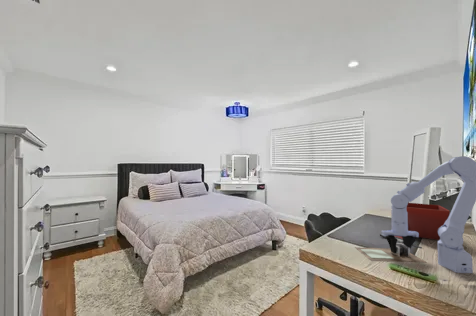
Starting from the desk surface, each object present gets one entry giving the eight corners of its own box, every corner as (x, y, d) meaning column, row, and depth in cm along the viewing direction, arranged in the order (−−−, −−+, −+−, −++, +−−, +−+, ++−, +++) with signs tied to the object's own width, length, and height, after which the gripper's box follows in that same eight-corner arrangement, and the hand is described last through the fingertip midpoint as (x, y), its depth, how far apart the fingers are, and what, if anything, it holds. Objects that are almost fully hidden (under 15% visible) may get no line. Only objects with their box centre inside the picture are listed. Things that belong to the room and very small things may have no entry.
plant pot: (439, 233, 126) (439, 204, 126) (451, 243, 109) (450, 210, 110) (399, 228, 135) (399, 201, 136) (404, 237, 119) (404, 206, 119)
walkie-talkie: (377, 238, 118) (420, 251, 100) (377, 230, 118) (420, 242, 100) (386, 235, 122) (430, 248, 104) (386, 228, 122) (430, 239, 104)
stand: (427, 265, 86) (427, 255, 86) (371, 263, 88) (371, 253, 88) (403, 250, 100) (402, 242, 100) (354, 249, 102) (354, 241, 102)
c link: (410, 257, 91) (410, 247, 91) (398, 256, 91) (397, 247, 91) (402, 252, 96) (401, 243, 96) (390, 252, 96) (390, 243, 96)
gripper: (410, 219, 97) (410, 249, 97) (377, 218, 98) (377, 248, 98) (422, 223, 90) (422, 256, 90) (386, 223, 91) (387, 255, 91)
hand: (400, 252), depth 94 cm, fingers closed on c link, 5 cm apart
